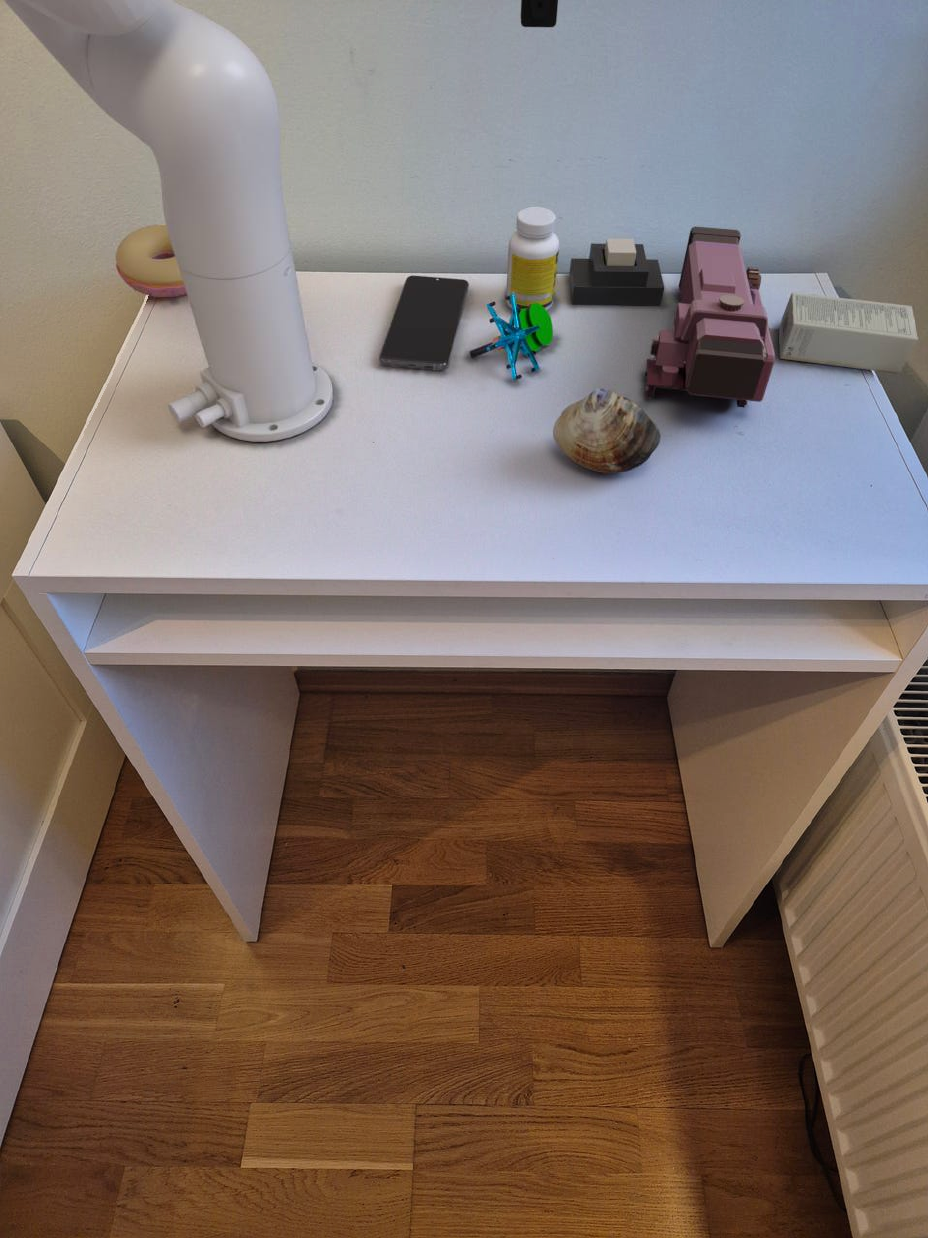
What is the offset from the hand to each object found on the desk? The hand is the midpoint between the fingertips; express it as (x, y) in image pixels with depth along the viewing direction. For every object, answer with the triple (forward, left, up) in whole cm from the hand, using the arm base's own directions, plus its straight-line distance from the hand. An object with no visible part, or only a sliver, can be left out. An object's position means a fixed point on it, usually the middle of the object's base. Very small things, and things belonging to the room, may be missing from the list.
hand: (538, 23), depth 72 cm
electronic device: (+3, -23, -25) cm, 34 cm away
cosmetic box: (+11, -27, -23) cm, 37 cm away
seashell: (-17, -27, -25) cm, 41 cm away
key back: (+6, -9, -21) cm, 24 cm away
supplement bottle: (-2, -4, -25) cm, 26 cm away
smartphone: (-14, +1, -25) cm, 29 cm away
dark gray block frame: (+6, -9, -25) cm, 27 cm away
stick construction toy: (-11, -9, -25) cm, 29 cm away
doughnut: (-29, +28, -20) cm, 46 cm away
